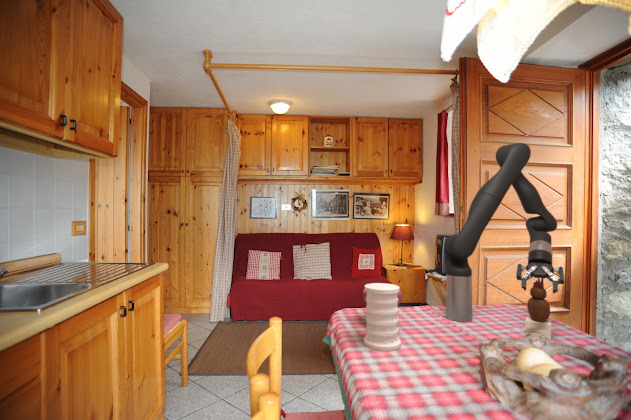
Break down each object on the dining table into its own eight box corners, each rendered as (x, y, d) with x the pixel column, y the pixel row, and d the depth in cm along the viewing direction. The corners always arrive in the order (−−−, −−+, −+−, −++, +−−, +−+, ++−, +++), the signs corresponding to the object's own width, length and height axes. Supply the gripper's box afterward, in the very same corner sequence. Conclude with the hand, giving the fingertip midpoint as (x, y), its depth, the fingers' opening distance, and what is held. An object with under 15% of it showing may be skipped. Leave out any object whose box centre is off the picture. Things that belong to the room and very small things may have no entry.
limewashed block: (525, 335, 109) (525, 320, 109) (527, 330, 114) (526, 316, 114) (551, 340, 105) (550, 324, 105) (551, 335, 110) (551, 320, 110)
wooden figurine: (553, 324, 106) (552, 278, 106) (533, 322, 107) (532, 277, 107) (543, 318, 112) (543, 274, 113) (525, 316, 114) (524, 274, 114)
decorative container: (402, 339, 105) (402, 284, 105) (399, 353, 94) (399, 291, 94) (366, 335, 109) (366, 281, 109) (360, 348, 98) (360, 288, 98)
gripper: (517, 247, 125) (514, 281, 116) (563, 249, 117) (564, 286, 107) (519, 260, 129) (516, 294, 120) (563, 262, 121) (564, 299, 111)
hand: (539, 290), depth 114 cm, fingers open, 8 cm apart
